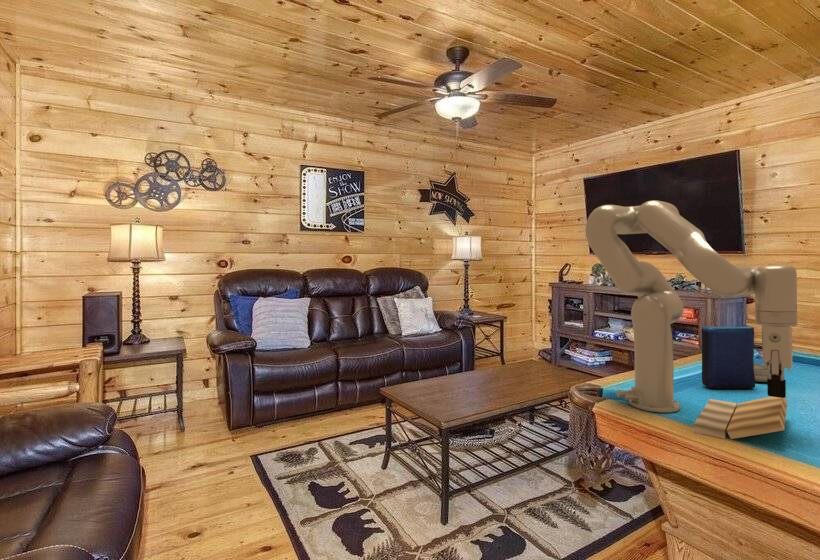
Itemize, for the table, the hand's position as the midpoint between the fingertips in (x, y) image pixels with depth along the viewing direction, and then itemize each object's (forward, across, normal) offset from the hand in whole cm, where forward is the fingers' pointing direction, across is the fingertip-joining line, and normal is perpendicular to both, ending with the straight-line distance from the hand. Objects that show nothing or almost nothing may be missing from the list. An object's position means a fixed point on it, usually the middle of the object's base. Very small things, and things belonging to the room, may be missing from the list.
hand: (776, 396), depth 101 cm
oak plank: (+6, 0, +3) cm, 7 cm away
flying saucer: (+9, +54, +8) cm, 55 cm away
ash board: (+8, 0, +12) cm, 14 cm away
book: (+8, +35, +13) cm, 39 cm away
